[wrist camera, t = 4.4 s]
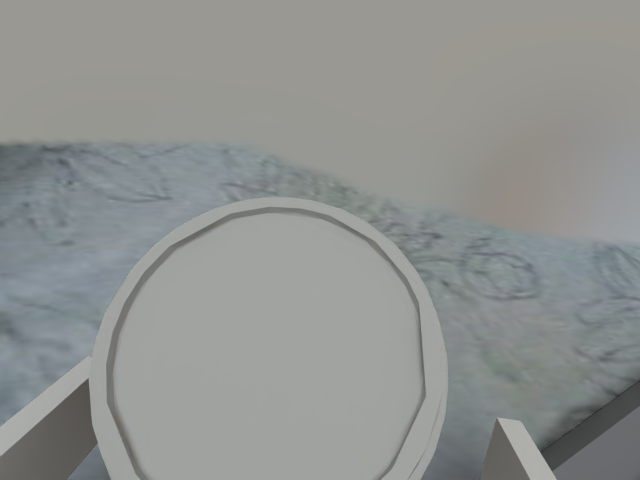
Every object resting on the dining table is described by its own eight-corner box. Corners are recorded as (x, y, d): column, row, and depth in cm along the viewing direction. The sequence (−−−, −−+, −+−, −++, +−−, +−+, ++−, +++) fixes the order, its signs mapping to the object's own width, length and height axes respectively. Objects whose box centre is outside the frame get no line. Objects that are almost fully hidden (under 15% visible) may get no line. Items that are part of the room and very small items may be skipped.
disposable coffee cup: (316, 561, 16) (330, 746, 6) (159, 427, 19) (-26, 393, 8) (412, 372, 20) (519, 287, 10) (273, 282, 23) (244, 139, 12)
